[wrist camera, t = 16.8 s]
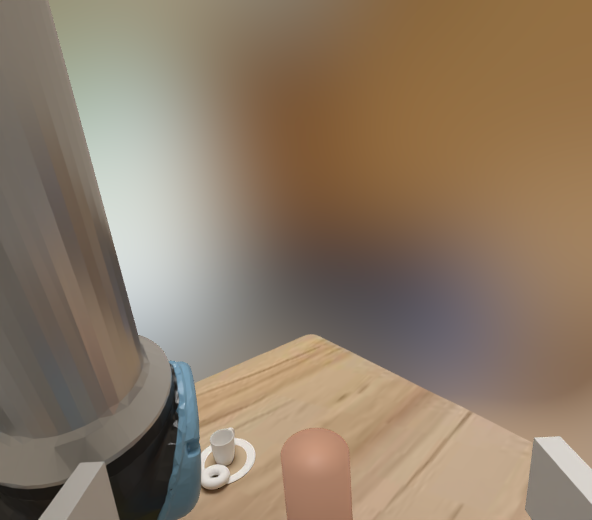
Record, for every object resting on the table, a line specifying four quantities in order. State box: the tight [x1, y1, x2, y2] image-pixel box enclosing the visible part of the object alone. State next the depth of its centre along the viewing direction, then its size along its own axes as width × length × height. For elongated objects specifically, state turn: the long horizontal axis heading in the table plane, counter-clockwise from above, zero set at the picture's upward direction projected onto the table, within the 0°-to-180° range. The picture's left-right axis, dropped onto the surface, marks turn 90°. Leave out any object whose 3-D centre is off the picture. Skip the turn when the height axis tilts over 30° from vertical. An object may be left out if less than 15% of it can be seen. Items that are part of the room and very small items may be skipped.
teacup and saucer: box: [201, 428, 255, 489], centre depth 47 cm, size 9×8×4 cm
